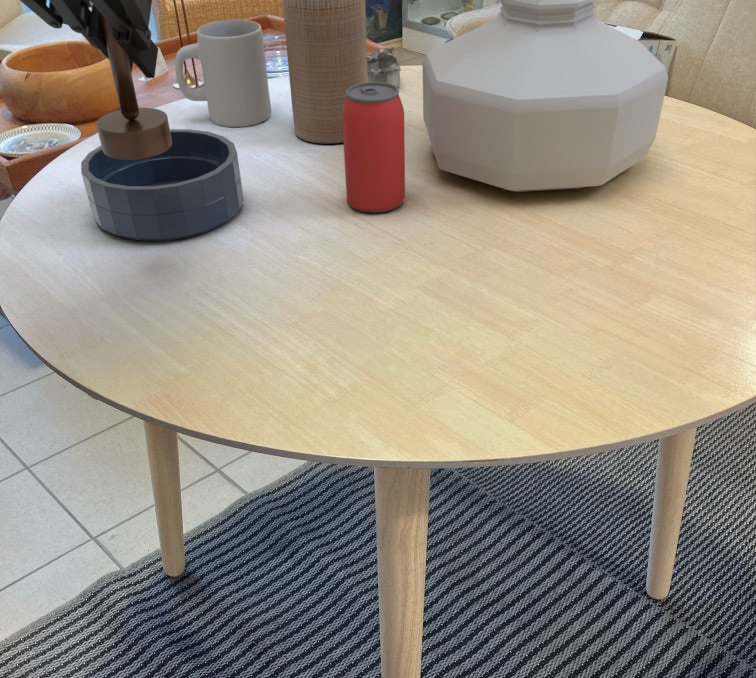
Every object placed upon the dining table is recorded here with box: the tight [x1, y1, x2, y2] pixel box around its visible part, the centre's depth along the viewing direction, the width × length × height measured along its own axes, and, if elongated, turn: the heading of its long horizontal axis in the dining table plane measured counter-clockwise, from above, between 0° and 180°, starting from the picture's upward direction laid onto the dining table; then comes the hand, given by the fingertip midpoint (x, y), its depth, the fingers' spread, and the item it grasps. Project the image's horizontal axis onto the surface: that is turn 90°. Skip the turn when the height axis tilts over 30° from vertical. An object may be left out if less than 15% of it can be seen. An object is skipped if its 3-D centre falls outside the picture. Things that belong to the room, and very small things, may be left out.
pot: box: [422, 0, 669, 193], centre depth 98 cm, size 28×28×19 cm
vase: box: [281, 0, 368, 145], centre depth 104 cm, size 10×10×28 cm
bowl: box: [80, 128, 245, 242], centre depth 95 cm, size 17×17×6 cm
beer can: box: [342, 82, 406, 214], centre depth 93 cm, size 7×7×12 cm
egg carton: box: [367, 46, 402, 88], centre depth 125 cm, size 11×8×4 cm
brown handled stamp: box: [95, 10, 172, 160], centre depth 74 cm, size 6×6×17 cm
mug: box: [174, 19, 272, 128], centre depth 114 cm, size 12×8×11 cm
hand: (140, 62), depth 78 cm, fingers closed on brown handled stamp, 2 cm apart
